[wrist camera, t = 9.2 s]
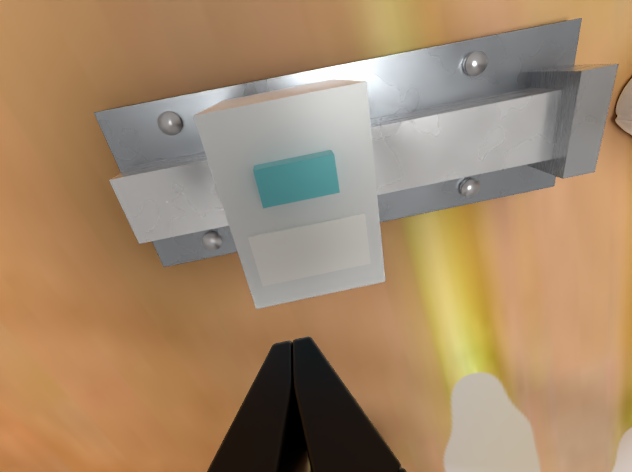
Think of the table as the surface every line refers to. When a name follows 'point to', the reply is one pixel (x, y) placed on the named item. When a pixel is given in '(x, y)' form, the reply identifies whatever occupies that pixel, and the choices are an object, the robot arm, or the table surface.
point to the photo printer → (625, 109)
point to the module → (298, 188)
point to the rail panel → (382, 98)
